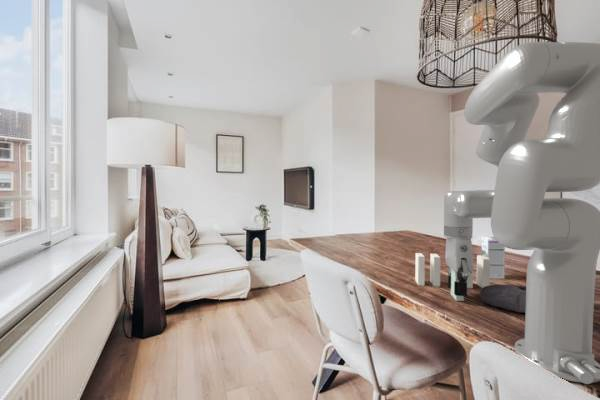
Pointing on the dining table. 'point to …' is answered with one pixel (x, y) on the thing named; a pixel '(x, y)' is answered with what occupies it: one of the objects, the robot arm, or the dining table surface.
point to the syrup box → (494, 256)
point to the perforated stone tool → (505, 297)
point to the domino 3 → (453, 278)
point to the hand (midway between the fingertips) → (457, 291)
